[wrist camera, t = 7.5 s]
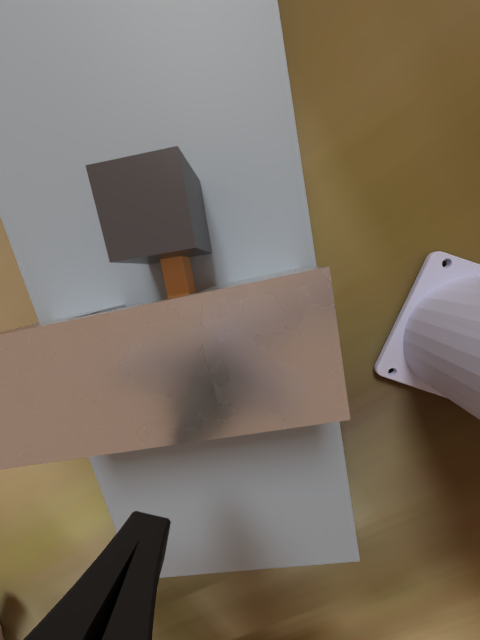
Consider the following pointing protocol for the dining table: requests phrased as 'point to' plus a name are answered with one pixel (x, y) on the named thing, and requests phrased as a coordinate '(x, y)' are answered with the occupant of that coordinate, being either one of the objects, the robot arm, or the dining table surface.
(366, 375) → the dining table surface
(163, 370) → the grey arch block
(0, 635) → the striped cylinder
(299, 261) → the board
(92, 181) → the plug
